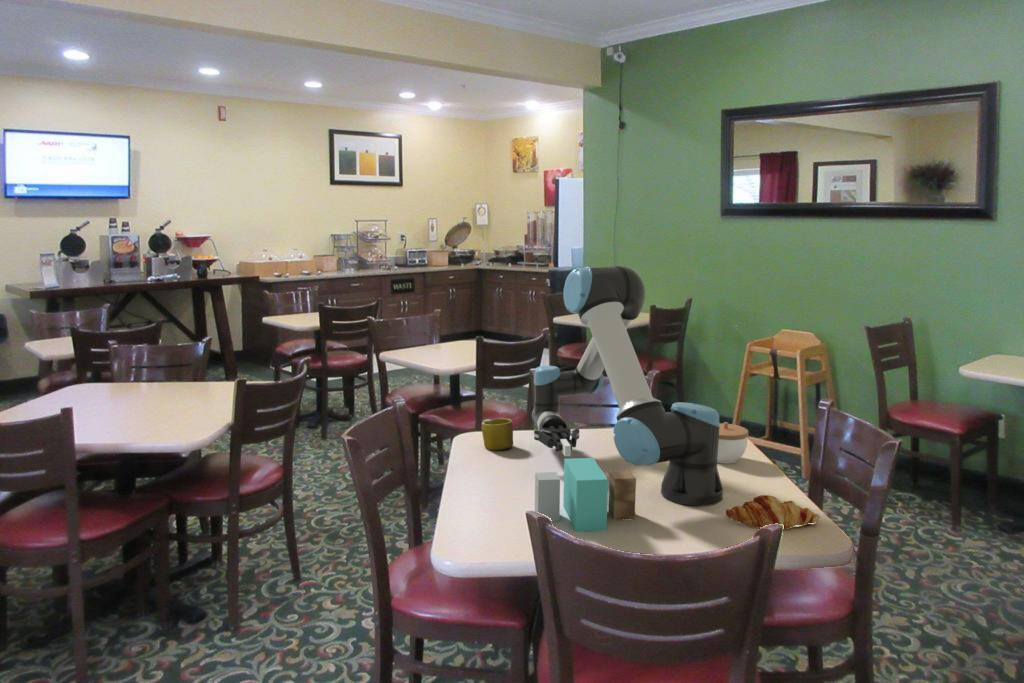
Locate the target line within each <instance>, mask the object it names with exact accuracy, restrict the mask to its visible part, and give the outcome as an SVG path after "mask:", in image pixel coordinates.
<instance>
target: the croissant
mask: <svg viewBox="0 0 1024 683" xmlns="http://www.w3.org/2000/svg"><path fill="white" fill-rule="evenodd" d="M778 498H779V497H776V496H774V495H769V494H768V495H767V494H765V495H764V494H762V495H761V494H759V495H757V496H756V497H753V499H752V500H748V501H747V500H746V501H745V502H744V503H743V504H742V505H735V506H733V507H732V508H727V509H725V515H726V516H727V518H729V519H730V520H732V521H735V522H738V523H740V524H741V525H743V526H747V527H749V526H750V527H749V528H757V527H758V528H759V529H761V528H760V527H763V526H765V525H769V524H775V523H778V524H783V525H784V529H785V530H788V529H787V528H790V527H793V526H795V525H804V524H808V523H815V522H817V523H819V522H820V519H821V516H820V515H819V514H818V513H815V512H814V511H812V509H810V508H808V507H805V508H804V507H802V506H800V505H797V504H796V503H795V501H793V500H787V501H786V500H783V502H782V501H781V500H780V499H778ZM815 524H816V523H815ZM793 528H794V527H793ZM790 529H791V528H790Z"/></svg>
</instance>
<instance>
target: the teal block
mask: <svg viewBox="0 0 1024 683" xmlns="http://www.w3.org/2000/svg"><path fill="white" fill-rule="evenodd" d="M608 498H609V478H607V476H606V474H605V473H604V471H603V470H602V469H601V467H600V466H599V464H598V463H597V461H596V460H595V459H594V458H593V457H585V458H583V457H582V458H581V457H580V458H579V457H578V458H564V459H563V498H562V500H563V509H564V510H565V512H566V514H567V517H568V519H569V521H570V523H571V525H572V527H573V529H574V531H575V532H577V533H580V532H603V531H607V530H608V529H607V526H608Z"/></svg>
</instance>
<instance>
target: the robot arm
mask: <svg viewBox="0 0 1024 683" xmlns="http://www.w3.org/2000/svg"><path fill="white" fill-rule="evenodd" d="M564 282H565V283H564V287H563V295H562V296H563V302H564V307H565V308H566V310H567V311H568V312H569V313H571V314H578V315H577V316H578V318H579V320H580V322H581V324H582V325H583V326H586V327H587V328H588V327H589V330H590V333H591V335H592V337H591V339H590V340H589V343H588V345H587V347H586V348H585V351H584V353H583V354H582V356H581V359H580V360H579V362H578V364H577V365H576V367H575V369H574V370H567V371H561V370H560V368H559V367H557V366H555V365H540V366H537V367H536V368H535V369H534V374H533V391H534V401H533V402H534V403H533V410H532V414H531V416H532V422H533V424H534V426H535V427H536V428H537V429H535V430H534V431H533V432H534V433H533V434H534V435H533V439H534V440H535V441H537V442H539V443H540V444H543V445H545V447H547V448H549V449H553V448H555V451H556V452H560V451H561V453H562V454H563V456H564V457H571V456H572V450H573V448H576V447H577V440H578V439H580V429H579V428H575V429H571V428H570V427H568V425H567V424H566V422H565V421H564V419H563V417H562V416H561V415H560V401H561V400H560V399H561V398H564V397H574V396H583V395H592V394H595V393H599V392H601V391H602V390H603V388H604V383H605V379H604V378H605V377H604V374H603V371H605V373H606V376H607V378H608V381H609V384H610V386H611V389H612V392H613V395H614V398H615V401H616V402H617V406H618V408H619V411H618V412H617V415H616V422H615V425H614V427H613V432H612V433H613V434H614V435H613V442H614V445H615V448H616V450H617V452H618V454H619V455H620V456H621V458H622V459H623V460H625V462H627V463H629V464H630V465H633V466H636V467H637V466H653V465H654V464H659V463H665V462H668V466H667V469H666V471H665V474H664V477H663V479H662V481H661V484H660V485H661V486H660V494H661V495H662V497H663V498H664V499H666V500H668V501H671V502H672V503H673V502H674V503H677V504H681V505H684V506H685V505H686V506H695V507H696V506H698V507H701V506H711V505H715V504H719V503H720V502H722V500H723V498H724V497H723V496H724V487H723V484H722V479H721V478H720V476H721V475H720V473H719V471H718V463H717V457H718V442H719V428H720V425H719V423H720V413H719V412H718V411H717V410H716V409H714V408H713V407H710V406H707V405H703V404H698V403H693V402H679V401H677V402H674V403H672V405H671V407H670V410H671V411H667V412H666V410H665V408H664V405H663V402H662V401H661V400H659V399H657V398H655V397H653V394H652V391H651V389H650V386H649V384H648V382H647V381H648V380H647V379H646V376H645V374H644V371H643V369H642V367H641V363H640V361H639V358H638V355H637V353H636V351H635V348H634V346H633V343H632V340H631V337H630V336H629V333H628V331H627V328H628V327H629V325H630V324H631V322H632V321H635V320H636V319H637V318H638V317H639V315H640V314H641V312H642V310H643V308H644V304H645V301H646V287H645V284H644V281H643V278H641V276H640V275H639V274H638V273H637V272H636V271H635V270H634V269H632V268H630V267H627V266H623V265H622V266H621V265H619V266H618V265H617V266H599V267H597V266H596V267H590V266H585V267H579V268H575V269H573V270H572V271H571V272H570V273H569V274H568V275H567V277H566V279H565V281H564Z"/></svg>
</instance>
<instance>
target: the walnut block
mask: <svg viewBox="0 0 1024 683" xmlns="http://www.w3.org/2000/svg"><path fill="white" fill-rule="evenodd" d="M608 474H609V477H608V505H607V513H608V514H609V515H610V517H611V519H612V521H628V519H633V520H635V517H636V488H637V477H636V476H635V475H634V473H632V471H631V470H620V471H619V470H618V471H609V472H608ZM623 519H624V520H623ZM625 519H627V520H625Z"/></svg>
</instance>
